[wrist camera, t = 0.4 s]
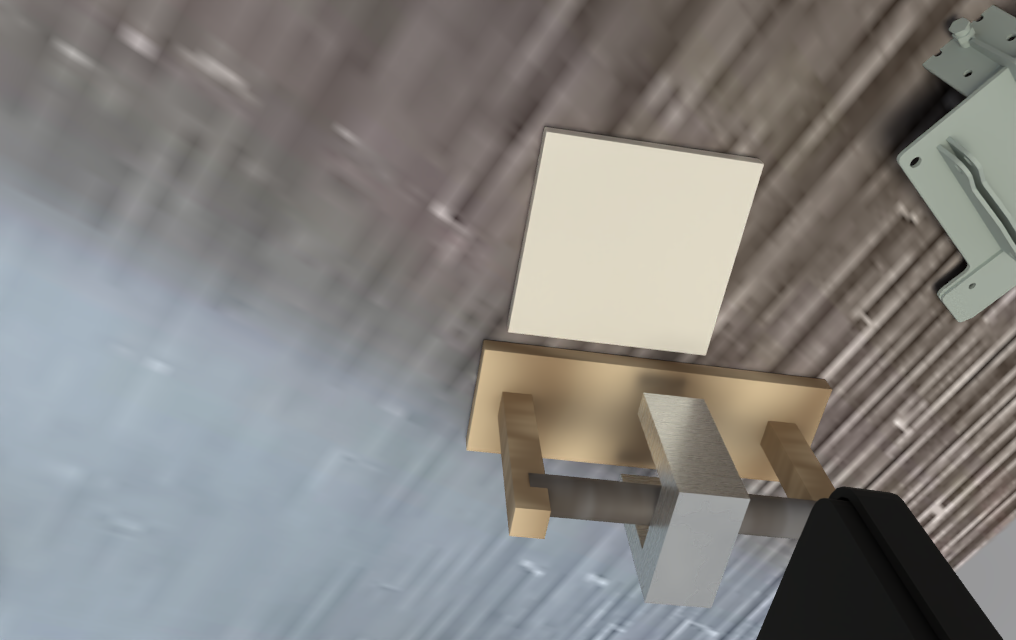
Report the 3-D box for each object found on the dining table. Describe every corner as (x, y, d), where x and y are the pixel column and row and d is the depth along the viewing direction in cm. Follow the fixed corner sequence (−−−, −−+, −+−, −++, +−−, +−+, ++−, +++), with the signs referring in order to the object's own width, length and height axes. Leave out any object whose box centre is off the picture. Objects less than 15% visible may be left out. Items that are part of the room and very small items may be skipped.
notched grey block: (643, 392, 44) (679, 492, 37) (703, 399, 44) (750, 499, 38) (615, 493, 46) (644, 602, 40) (672, 498, 47) (711, 607, 40)
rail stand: (466, 439, 48) (472, 573, 40) (483, 339, 46) (494, 460, 37) (789, 472, 51) (863, 606, 42) (824, 379, 48) (911, 501, 39)
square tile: (544, 126, 41) (546, 131, 40) (758, 158, 42) (763, 164, 42) (507, 324, 45) (508, 331, 45) (701, 347, 47) (705, 355, 46)
